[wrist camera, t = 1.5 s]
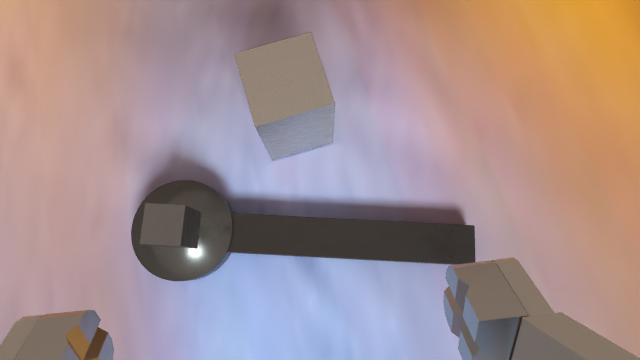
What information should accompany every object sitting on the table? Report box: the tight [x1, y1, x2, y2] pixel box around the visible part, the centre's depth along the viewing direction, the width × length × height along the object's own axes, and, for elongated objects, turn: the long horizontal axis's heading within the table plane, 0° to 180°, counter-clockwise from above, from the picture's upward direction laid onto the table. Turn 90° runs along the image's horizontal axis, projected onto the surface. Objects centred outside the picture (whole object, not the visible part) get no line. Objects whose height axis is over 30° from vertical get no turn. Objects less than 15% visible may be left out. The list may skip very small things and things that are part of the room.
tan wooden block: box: [234, 32, 335, 161], centre depth 29 cm, size 5×5×8 cm
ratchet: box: [131, 180, 475, 281], centre depth 29 cm, size 25×7×5 cm, turn 87°
